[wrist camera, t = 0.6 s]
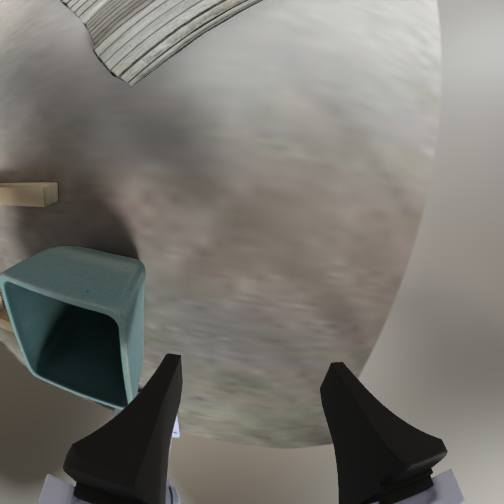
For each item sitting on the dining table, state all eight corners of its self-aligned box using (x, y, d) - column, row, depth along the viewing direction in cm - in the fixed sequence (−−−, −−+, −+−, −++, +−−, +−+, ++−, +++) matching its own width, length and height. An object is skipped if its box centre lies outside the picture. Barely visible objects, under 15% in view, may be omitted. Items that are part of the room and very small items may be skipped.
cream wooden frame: (82, 341, 23) (74, 354, 21) (1, 314, 22) (-8, 323, 20) (57, 182, 17) (43, 187, 15) (-26, 184, 16) (-38, 189, 14)
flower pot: (160, 334, 23) (135, 415, 14) (75, 310, 21) (29, 375, 13) (168, 242, 19) (124, 314, 11) (68, 222, 18) (-4, 271, 10)
